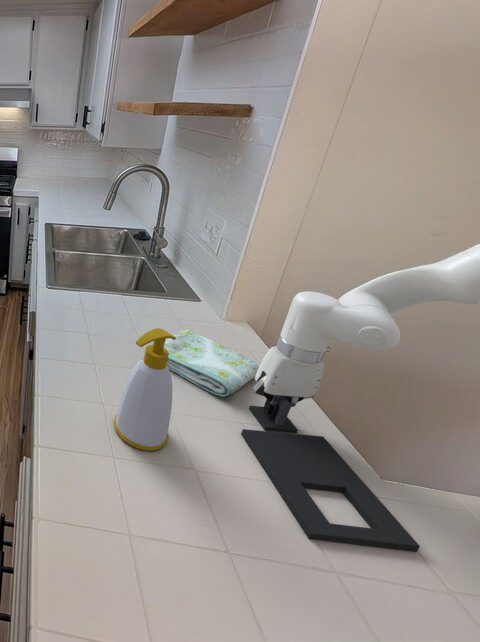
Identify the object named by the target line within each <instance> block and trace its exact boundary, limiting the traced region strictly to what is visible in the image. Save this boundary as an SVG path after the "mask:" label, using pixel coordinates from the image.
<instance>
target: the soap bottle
mask: <svg viewBox="0 0 480 642" xmlns="http://www.w3.org/2000/svg"><path fill="white" fill-rule="evenodd" d="M169 338H171V339H174V340H175V339H176V337H174V335H173V334H171V333H170V332H168V331H167V330H165V329H163V328H160V327H158V328H157V327H155V328H153V329H152V330H148V331H147V332H144V333H143V334H142V335H141V336H140V337H139V338H138V339H137V340H136V341H135V345H136V346H138V347H140V348H143V347H145V351H144V355H143V358H142V359H140V360H139V361H137V363H136V364H135V365H134V367H133V369H132V370H131V371H130V374H129V377H128V379H127V380H126V384H125V387H124V389H123V391H122V395H121V397H120V399H119V400H120V401H119V404H118V407H117V412H116V414H115V417H114V420H113V424H114V430H115V432H116V433H117V435H118V436H119V437H120V439H121V440H122V441H124V442H125V443H127V444H128V445H129V446H131V447H134V448H136V449H138V450H142V451H149V452H153V451H158V450H161V449H162V448H163V447H165V446H166V444H167V443H168V439H169V427H170V422H171V421H170V420H171V416H172V415H171V414H172V407H173V406H172V405H173V378H172V374H171V370H170V369H169V368H168V366H167V365H166V364H167V360H168V356H169V352H168V351H167V350H166V349H165V348H164V344H165V340H167V339H169ZM150 343H152V344H150ZM148 344H149V345H148ZM146 345H147V346H146Z"/></svg>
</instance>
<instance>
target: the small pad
mask: <svg viewBox="0 0 480 642" xmlns="http://www.w3.org/2000/svg"><path fill="white" fill-rule="evenodd" d="M277 405H278V406H279V409H278V411H277V414H276V417H275V419H274V420H271V419H270V418H269V417H268V416H267V414H266V413H265V412H264V410H263V407H264V406H261V405H249V407H248V410H249V411H250V413H251V414H252V415H253V416H254V418H255V419H256V421H257V422H258V423H259V425H260V426H261V428H262V429H263V431H268V432H279V433H290V434H298V432H299V429H298V428H297V426H295V424H294V423H293V422H292V421H291V419H290V418H289V417H288V416H289V413H290V410H291V409H292V407H291V406H292V405H291V404H290V403H289V402H288V400H287V399H286V398H285V397H284V396H282V395H280V398H279V401H278V404H277Z"/></svg>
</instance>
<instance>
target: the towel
mask: <svg viewBox="0 0 480 642" xmlns="http://www.w3.org/2000/svg"><path fill="white" fill-rule="evenodd" d="M173 336H174V337H176V339H175V340H174V339H171V338H166V340H165V344H164V348H165V349H166V350H167V351H168V352H169V356H168V360H167V364H166V365H167V366H168V368H169V370H170V372H173V373H175V374H177V375H178V376H180V377H182V378H184V379H185V380H187V381H189V382H191V383H192V384H193V385H195V386H197V387H200V388H201V389H203V390H205V391H207V392H209V393H211V394H213V395H215V396H218V397H219V396H220V397H228V396H230V395H232V394H234V393H235V392H236V391H237V390H239V389H241V388H242V387H243V386H244V385H246V384H247V383H248V382H250V381H251V380H253V379H255V376H256V373H257V371H258V368H259V366H260V364H258V363H257V362H255V361H253V360H252V359H250V358H249V357H248V356H245V355H244V354H242V353H240V352H237V351H235V350H232V349H230V348H228V347H227V346H224V345H222V344H220V343H218V342H215V341H213V340H211V339H209V338H206V337H204V336H202V335H200V334H198V333H195V332H194V331H193V332H192V331H191V330H187V329H182V330H181V331H178V332H177V333H176V334H174V335H173Z"/></svg>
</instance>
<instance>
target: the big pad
mask: <svg viewBox="0 0 480 642" xmlns="http://www.w3.org/2000/svg"><path fill="white" fill-rule="evenodd" d="M240 435H241V436H242V438H243V439H244V441H245V443H246V444H247V446H248V448H249V449H250V450H251V452H252V453H253V456H254V457H255V458H256V460H257V461H258V463H259V464H260V466H261V468H262V469H263V471H264V472H265V473H266V475H267V477H268V478H269V480H270V481H271V483H272V484H273V486H274V488H275V489H276V491H277V493H278V494H279V495H280V497H281V499H282V500H283V501H284V503H285V505H286V506H287V508H288V509H289V511H290V512H291V514H292V516H293V517H294V519H295V520H296V522H297V523H298V525H299V526H300V528H301V529H302V531H303V533H304V534H305V536H306V538H308V540H314V541H323V542H330V543H331V542H332V543H341V544H348V545H356V546H365V547H374V548H381V549H388V550H397V551H405V552H413V553H416V552H417V551H418V550H419V549H420V547H421V546H420V544H419V543H418V542H417V541H416V540H415V539H414V538H413V537H412V535H411V534H410V533H409V532H408V531H407V530H406V529H405V527H403V525H402V524H401V523H400V522H399V520H397V518H396V517H395V516H394V515H393V514H392V513H391V511H389V509H388V508H387V507H386V505H384V504H383V503H382V501H381V500H380V499H379V498H378V497H377V495H375V494H374V492H373V491H372V490H371V489H370V488H369V486H368V485H367V484H366V483H365V482H364V481H363V480H362V479H361V477H360V476H359V475H358V474H357V473H356V472H355V471H354V469H353V468H352V467H351V466H350V465H349V464H348V463H347V462H346V461H345V459H344V458H343V457H342V456H341V455H340V454H339V453H338V452H337V450H336V449H335V448H334V447H333V446H332V445H331V444H330V442H329V441H328V440H327V439H326V438H325V437H324V436H322V435H313V434H312V435H310V434H299V433H288V432H277V431H266V430H257V429H256V430H255V429H245V428H242V430H241V432H240ZM307 489H308V490H317V491H328V492H336V493H342V494H343V496H344V497H345V498H346V499H347V500H348V501H349V503H350V505H352V507H353V508H354V509H355V510H356V511H357V512H358V514H359V516H360V517H362V519H363V520H364V521H365V523H366V524H367V525H368V526H369V527H364V526H354V525H348V524H339V523H330V521H329V520H328V518H327V517H326V516H325V515H324V513H323V512H322V510H321V509H320V508H319V506H318V505H317V503H316V502H315V500H313V498H312V497H311V495H310V494H309V492H308V491H307Z"/></svg>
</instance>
